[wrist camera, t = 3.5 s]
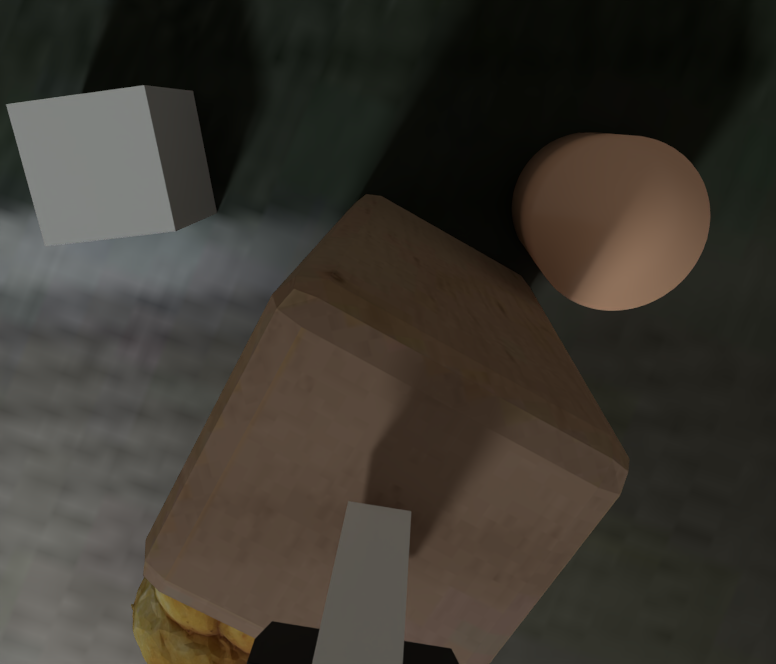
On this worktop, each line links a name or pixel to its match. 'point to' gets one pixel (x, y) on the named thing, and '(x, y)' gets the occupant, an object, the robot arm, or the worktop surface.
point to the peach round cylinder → (611, 217)
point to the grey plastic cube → (113, 163)
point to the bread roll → (183, 632)
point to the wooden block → (392, 442)
